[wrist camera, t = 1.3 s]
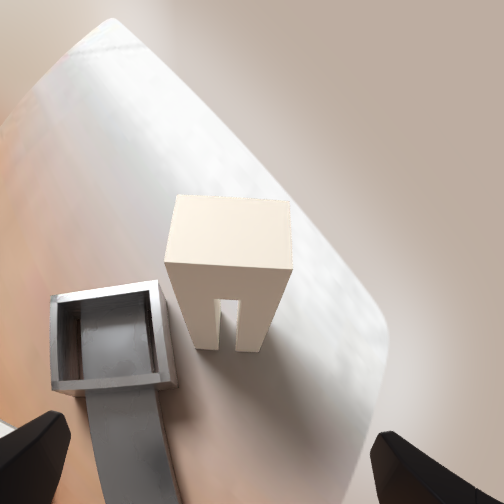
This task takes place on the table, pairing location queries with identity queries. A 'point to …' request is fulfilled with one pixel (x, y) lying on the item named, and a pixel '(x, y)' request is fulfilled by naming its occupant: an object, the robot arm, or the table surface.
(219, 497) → the table surface
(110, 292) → the grey tray with tab
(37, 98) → the table surface
